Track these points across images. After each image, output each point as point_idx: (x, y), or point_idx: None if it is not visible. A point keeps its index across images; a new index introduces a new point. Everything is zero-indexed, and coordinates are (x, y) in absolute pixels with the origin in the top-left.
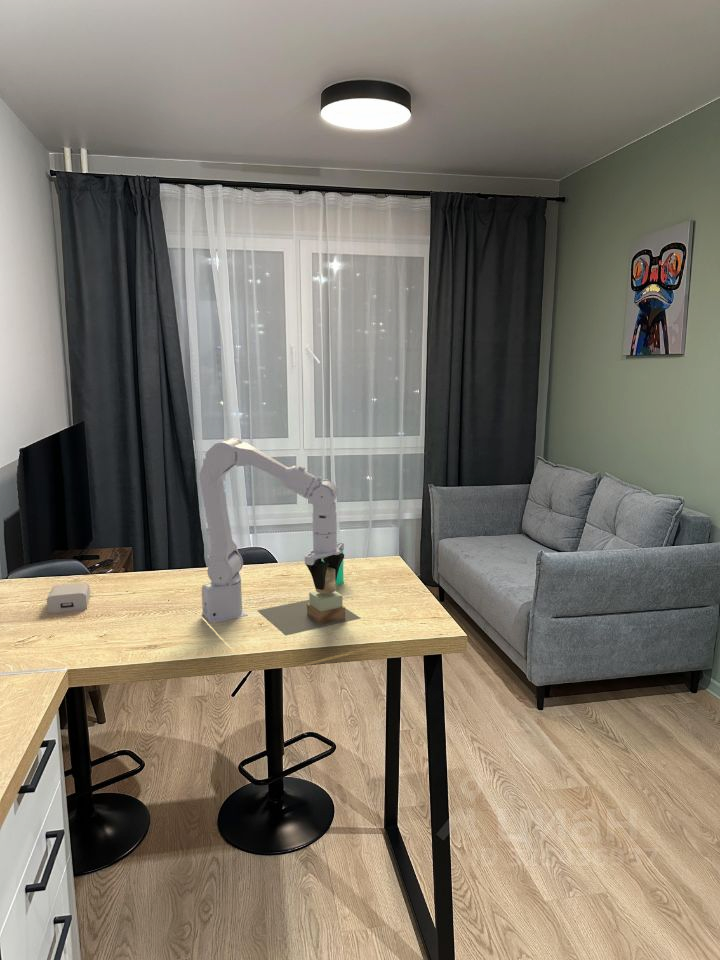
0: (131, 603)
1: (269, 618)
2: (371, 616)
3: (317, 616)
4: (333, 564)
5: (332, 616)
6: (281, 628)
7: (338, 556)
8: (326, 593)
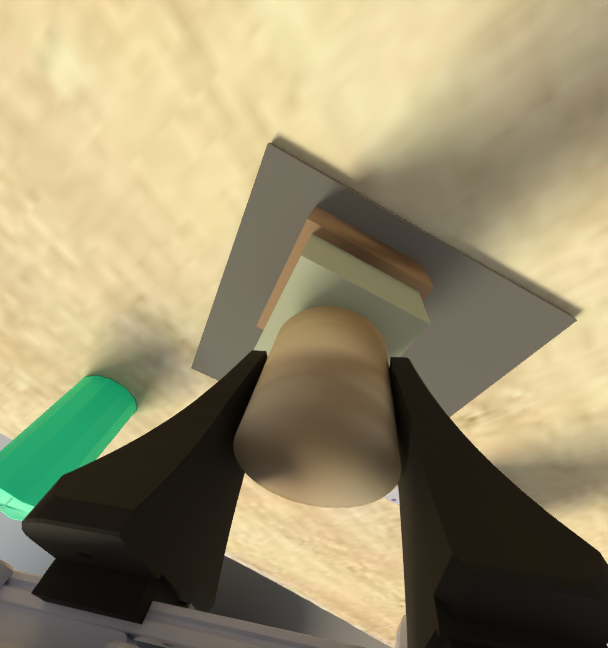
0: None
1: None
2: (204, 123)
3: None
4: (211, 469)
5: (371, 244)
6: (509, 360)
7: (136, 545)
8: None
